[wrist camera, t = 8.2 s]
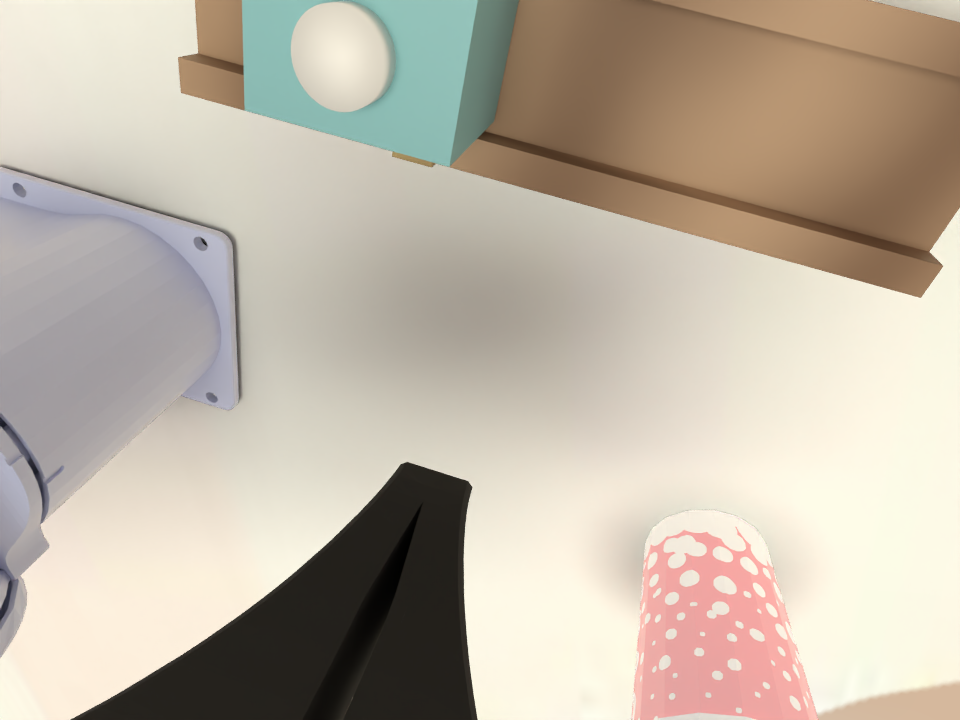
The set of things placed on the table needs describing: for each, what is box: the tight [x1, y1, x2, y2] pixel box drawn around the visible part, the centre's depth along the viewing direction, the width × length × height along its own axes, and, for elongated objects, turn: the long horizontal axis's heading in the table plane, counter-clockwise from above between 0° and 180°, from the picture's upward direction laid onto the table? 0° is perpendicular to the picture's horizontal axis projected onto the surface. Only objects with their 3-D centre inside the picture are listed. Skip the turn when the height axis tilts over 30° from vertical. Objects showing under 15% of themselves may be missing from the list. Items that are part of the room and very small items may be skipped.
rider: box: [242, 0, 519, 167], centre depth 12 cm, size 4×3×5 cm
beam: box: [178, 0, 960, 298], centre depth 14 cm, size 18×6×4 cm, turn 78°
